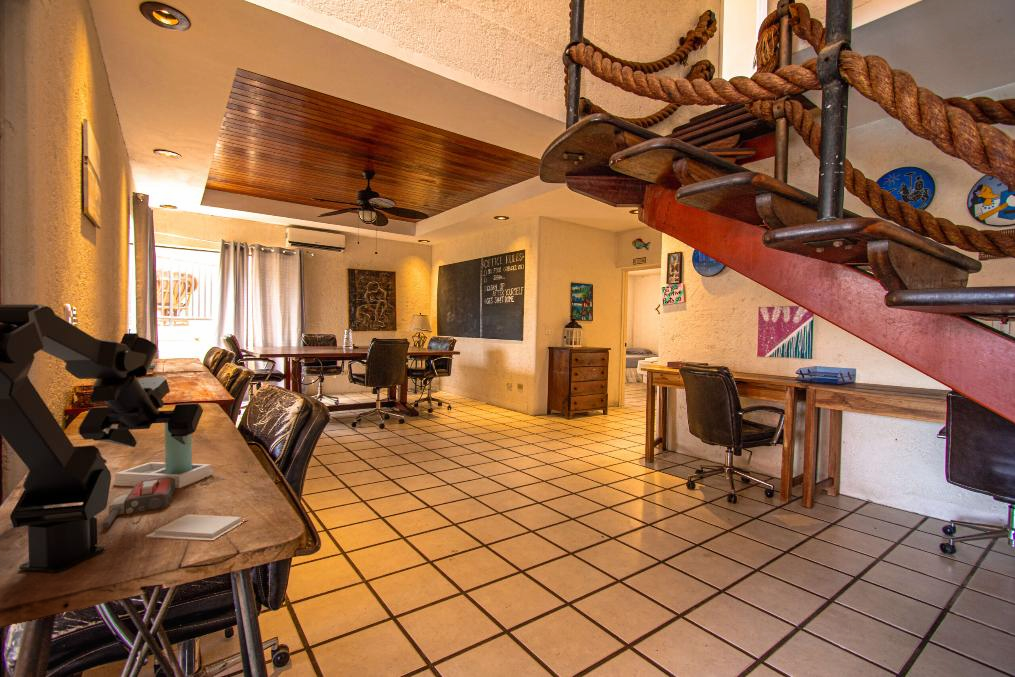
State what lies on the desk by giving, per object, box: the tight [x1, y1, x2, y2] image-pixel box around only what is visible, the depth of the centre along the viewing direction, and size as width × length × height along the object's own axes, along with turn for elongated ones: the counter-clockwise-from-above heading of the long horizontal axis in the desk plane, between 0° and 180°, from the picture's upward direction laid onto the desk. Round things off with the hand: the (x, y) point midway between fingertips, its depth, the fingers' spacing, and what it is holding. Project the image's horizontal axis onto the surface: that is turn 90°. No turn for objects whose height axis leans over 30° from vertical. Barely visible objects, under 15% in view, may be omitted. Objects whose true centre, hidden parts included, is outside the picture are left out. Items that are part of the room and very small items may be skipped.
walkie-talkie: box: [101, 477, 176, 528], centre depth 84 cm, size 9×4×20 cm
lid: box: [145, 513, 244, 541], centre depth 75 cm, size 12×8×1 cm, turn 83°
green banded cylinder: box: [163, 423, 193, 474], centre depth 99 cm, size 5×5×13 cm
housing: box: [112, 461, 214, 489], centre depth 99 cm, size 9×16×2 cm, turn 82°
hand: (160, 443), depth 92 cm, fingers open, 9 cm apart
